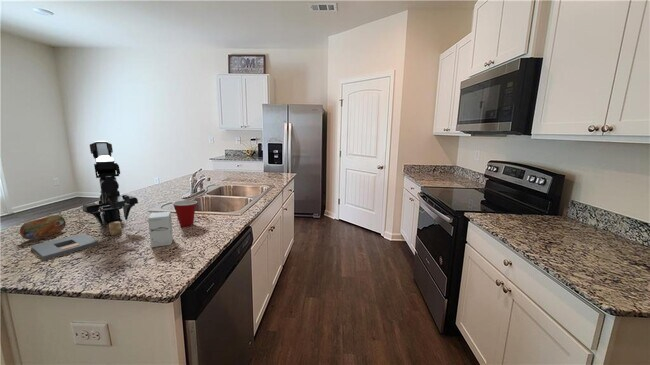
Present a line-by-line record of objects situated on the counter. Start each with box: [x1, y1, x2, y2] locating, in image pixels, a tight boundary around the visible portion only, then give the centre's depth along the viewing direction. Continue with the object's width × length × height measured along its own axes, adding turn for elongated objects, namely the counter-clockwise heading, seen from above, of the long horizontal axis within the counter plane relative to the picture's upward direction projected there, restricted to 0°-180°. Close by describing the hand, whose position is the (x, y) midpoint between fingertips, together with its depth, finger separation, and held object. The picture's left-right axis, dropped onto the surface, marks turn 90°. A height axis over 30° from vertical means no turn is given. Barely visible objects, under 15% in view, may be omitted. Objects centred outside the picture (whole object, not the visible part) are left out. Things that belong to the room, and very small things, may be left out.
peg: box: [108, 221, 122, 236], centre depth 120 cm, size 4×4×5 cm
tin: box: [19, 214, 67, 241], centre depth 116 cm, size 15×3×8 cm, turn 168°
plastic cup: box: [172, 200, 198, 228], centre depth 131 cm, size 11×11×12 cm
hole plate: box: [30, 232, 100, 261], centre depth 106 cm, size 16×16×2 cm
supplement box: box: [147, 211, 174, 248], centre depth 110 cm, size 7×7×13 cm
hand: (114, 222), depth 119 cm, fingers open, 9 cm apart
